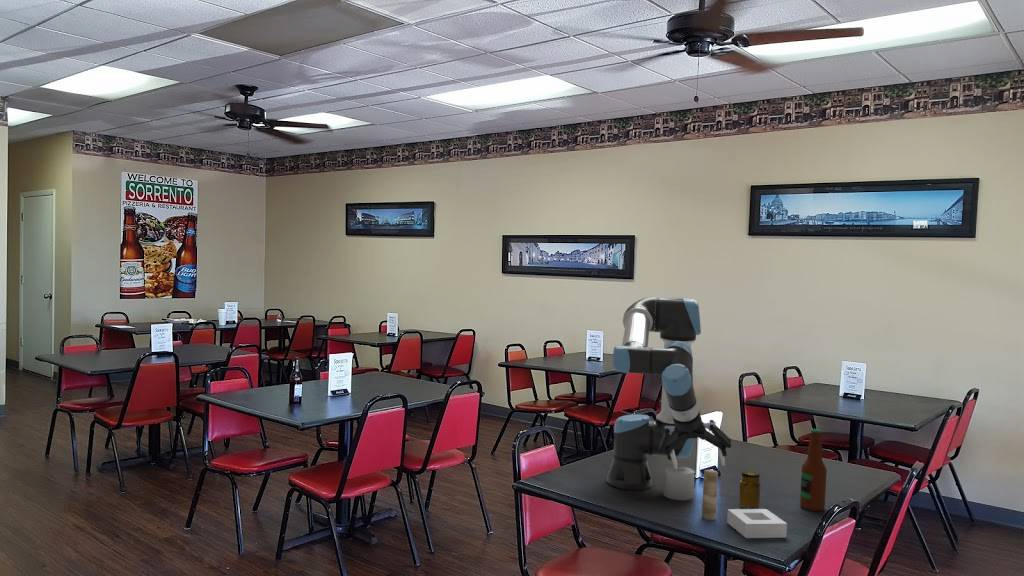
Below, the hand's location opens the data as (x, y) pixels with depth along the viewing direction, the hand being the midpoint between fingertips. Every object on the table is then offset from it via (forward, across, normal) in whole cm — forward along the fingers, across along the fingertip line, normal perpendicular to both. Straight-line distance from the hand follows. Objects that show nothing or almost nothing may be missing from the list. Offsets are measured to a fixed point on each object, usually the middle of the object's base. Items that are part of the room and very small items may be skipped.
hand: (699, 463), depth 211 cm
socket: (+18, +13, -10) cm, 24 cm away
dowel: (+18, 0, -5) cm, 19 cm away
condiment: (+27, +11, +3) cm, 29 cm away
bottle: (+38, +29, +11) cm, 49 cm away
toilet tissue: (+28, -12, +11) cm, 32 cm away
